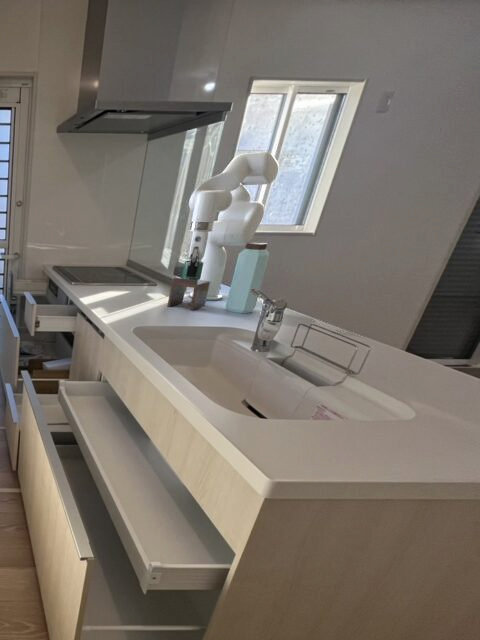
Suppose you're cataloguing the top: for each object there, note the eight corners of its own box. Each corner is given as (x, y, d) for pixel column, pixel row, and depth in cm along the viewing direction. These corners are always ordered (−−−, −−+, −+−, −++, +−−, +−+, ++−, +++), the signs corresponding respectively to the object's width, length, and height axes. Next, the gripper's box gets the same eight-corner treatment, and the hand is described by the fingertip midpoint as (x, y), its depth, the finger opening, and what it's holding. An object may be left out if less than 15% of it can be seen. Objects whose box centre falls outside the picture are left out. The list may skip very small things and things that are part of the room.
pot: (186, 276, 167) (189, 260, 164) (203, 278, 162) (206, 261, 159) (178, 278, 163) (181, 261, 160) (195, 280, 158) (198, 263, 156)
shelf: (180, 301, 174) (186, 274, 169) (204, 306, 167) (211, 277, 162) (167, 306, 168) (172, 277, 163) (191, 310, 161) (198, 280, 156)
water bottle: (244, 315, 154) (263, 245, 143) (219, 309, 162) (235, 243, 151) (260, 311, 158) (279, 243, 147) (234, 306, 166) (251, 241, 156)
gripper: (211, 228, 146) (200, 279, 154) (214, 225, 159) (204, 272, 167) (188, 228, 150) (178, 277, 157) (192, 225, 163) (183, 270, 171)
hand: (191, 274), depth 162 cm, fingers closed on pot, 6 cm apart
